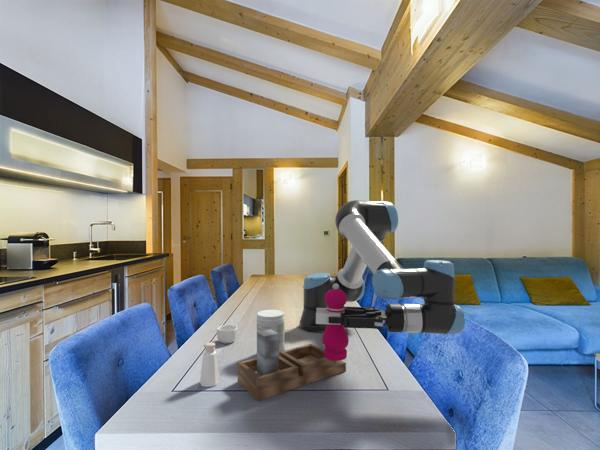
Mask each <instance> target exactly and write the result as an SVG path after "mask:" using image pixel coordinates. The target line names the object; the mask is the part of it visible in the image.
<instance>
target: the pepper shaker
mask: <svg viewBox="0 0 600 450" xmlns="http://www.w3.org/2000/svg"><path fill="white" fill-rule="evenodd" d="M204 350H205V351H204V352H203V354H202V361H201V368H200V369H201V370H200V380H199V383H200V385H201V387H205V388H210V387H211V388H212V387H216V385H218V384H219V383H220V375H219V374H220V372H219V362H218V354H217V351H216V343H215V342H212V341H211V342H206V343H205V344H204Z"/></svg>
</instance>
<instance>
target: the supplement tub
mask: <svg viewBox="0 0 600 450" xmlns="http://www.w3.org/2000/svg"><path fill="white" fill-rule="evenodd" d="M270 329H271V330H273V331H275V332H277V333H279V352H281V351H285V345H286V344H285V341H286V340H285V313H284V311H282V310H279V309H265V310H260V311H258V312H257V313H256V333H257V332H260V331H265V330H270Z"/></svg>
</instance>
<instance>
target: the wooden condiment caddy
mask: <svg viewBox="0 0 600 450" xmlns="http://www.w3.org/2000/svg"><path fill="white" fill-rule="evenodd" d="M344 372H347V363H346V362H345V361H344V360H340V361H333V360H329V359H326V358H325V357H324V349H323V348H320V346H319V347H318V346H316V345H315V344H313V343H309V344H303V345H302V346H298V347H293V348H289V349H286V350H285V351H281V352H279V333H277V332H275V331H273V330H271V329H270V330H265V331H260V332H257V331H256V357H253V358H250V359H246V360H243V361H238V362H237V383H238V384H239V385H240V386H241V387H242V388H244V389H245V391H247V392H248V393H249V395H251V396H252V397H253V398H254V399H255V400H257V401H258V402H260V401H262V400H265V399H268V398H272V397H274V396H277V395H280V394H284V393H286V392H288V391H291V390H294V389H298V388H300V386H301V387H304V386H306V385H308V383H309V384H312V383H314V381H315V382H318V381H320V379H321V380H323V378H324V379H326V377H327V378H329V376H330V377H332V376H335V375H337V374H340V373H344ZM317 380H318V381H317ZM303 385H304V386H303ZM297 387H298V388H297Z"/></svg>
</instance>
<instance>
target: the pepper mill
mask: <svg viewBox="0 0 600 450" xmlns="http://www.w3.org/2000/svg"><path fill="white" fill-rule="evenodd" d="M346 301H347V297H346V294H345V293H344V292H343V291H342V290H340V289H339V285H338V284H336V283H335V284H333V289H331V290H329V291H328V292H327V293H326V295H325V302H326V304H327V305H328V306H327V307H326V308H327V313H331V314H340V317H341V312H343V313H344V312H345V311H344V309H345V307H346V306H345V305H346V303H347V302H346ZM343 306H344V307H343ZM322 333H323V334H322V340H321V343H322V344H323V346H324V349H323V350H324V357H325V358H326V359H329V360H333V361H340V360H341V361H345V360H346V359H347V356H348V354H347V353H348V350H347V349H346V348H347V347H348V346H349V335H348V332H347V330H346V328H344V326H342V325H341V324H340V325H333V324H327V326H326V329H325V331H324V332H322Z"/></svg>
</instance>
